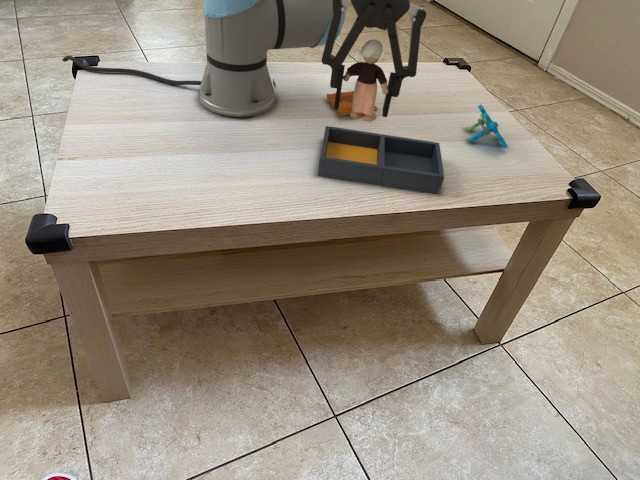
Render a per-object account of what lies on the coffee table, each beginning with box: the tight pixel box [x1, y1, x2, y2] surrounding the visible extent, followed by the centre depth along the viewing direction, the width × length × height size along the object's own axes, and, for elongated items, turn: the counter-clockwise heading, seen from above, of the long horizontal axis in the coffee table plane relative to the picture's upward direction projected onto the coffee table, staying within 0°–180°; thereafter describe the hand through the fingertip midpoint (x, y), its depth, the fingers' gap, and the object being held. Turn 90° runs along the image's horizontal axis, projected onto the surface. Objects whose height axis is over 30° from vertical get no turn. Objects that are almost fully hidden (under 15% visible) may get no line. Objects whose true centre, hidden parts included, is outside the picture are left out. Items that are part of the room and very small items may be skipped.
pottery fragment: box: [326, 90, 379, 116], centre depth 103 cm, size 10×5×10 cm
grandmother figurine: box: [343, 38, 388, 123], centre depth 77 cm, size 8×4×13 cm, turn 77°
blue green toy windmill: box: [468, 104, 508, 150], centre depth 97 cm, size 11×6×10 cm
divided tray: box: [317, 125, 445, 195], centre depth 87 cm, size 21×11×4 cm, turn 84°
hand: (360, 109), depth 81 cm, fingers closed on grandmother figurine, 7 cm apart
